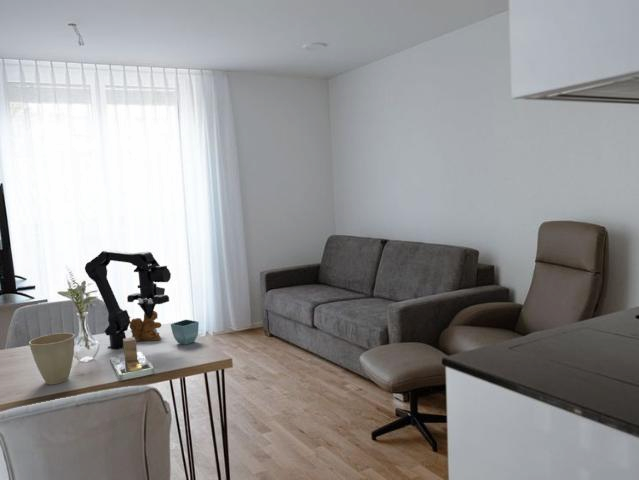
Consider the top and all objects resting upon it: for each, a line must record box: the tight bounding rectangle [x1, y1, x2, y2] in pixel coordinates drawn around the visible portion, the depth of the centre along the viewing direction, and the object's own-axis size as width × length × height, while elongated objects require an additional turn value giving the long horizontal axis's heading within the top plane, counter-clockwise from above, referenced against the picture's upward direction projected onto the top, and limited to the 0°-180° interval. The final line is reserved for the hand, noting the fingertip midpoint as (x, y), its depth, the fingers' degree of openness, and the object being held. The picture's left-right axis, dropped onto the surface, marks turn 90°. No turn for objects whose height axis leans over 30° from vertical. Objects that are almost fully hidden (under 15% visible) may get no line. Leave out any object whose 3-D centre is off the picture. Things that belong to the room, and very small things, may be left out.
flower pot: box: [170, 319, 199, 346], centre depth 242 cm, size 9×9×9 cm
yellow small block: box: [128, 364, 143, 372], centre depth 203 cm, size 5×4×3 cm
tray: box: [115, 361, 156, 381], centre depth 203 cm, size 8×12×3 cm
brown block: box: [123, 336, 140, 373], centre depth 208 cm, size 8×4×11 cm, turn 28°
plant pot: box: [28, 332, 76, 385], centre depth 202 cm, size 15×15×16 cm
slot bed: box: [109, 351, 149, 375], centre depth 215 cm, size 18×12×2 cm, turn 27°
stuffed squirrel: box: [129, 310, 162, 342], centre depth 252 cm, size 10×14×13 cm
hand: (149, 318), depth 236 cm, fingers closed
